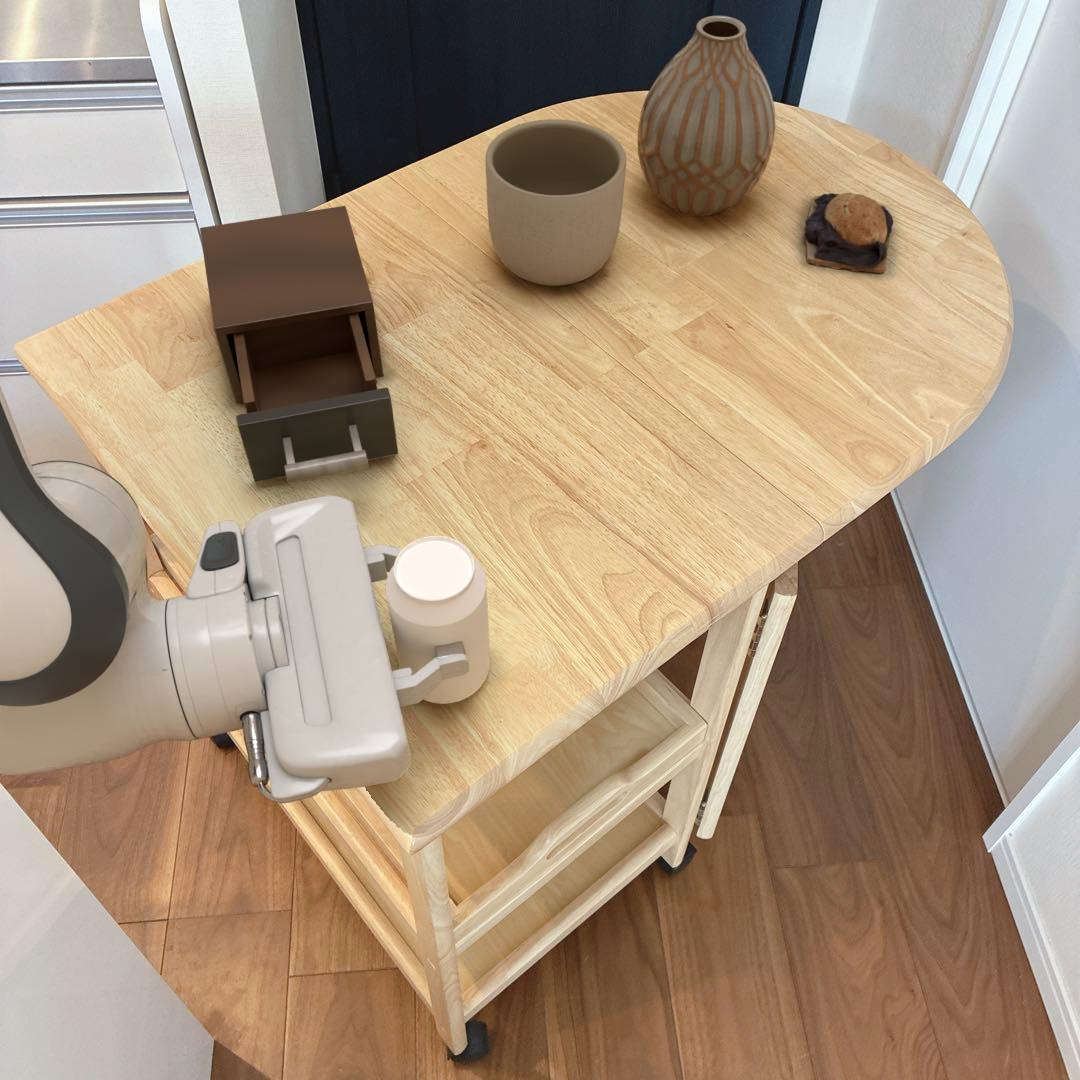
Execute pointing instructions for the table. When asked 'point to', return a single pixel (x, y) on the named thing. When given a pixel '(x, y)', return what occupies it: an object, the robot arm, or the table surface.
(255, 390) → the drawer
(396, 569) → the beverage can
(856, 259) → the bread roll
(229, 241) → the cabinet
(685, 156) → the vase
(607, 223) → the planter
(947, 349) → the table surface
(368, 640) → the robot arm
